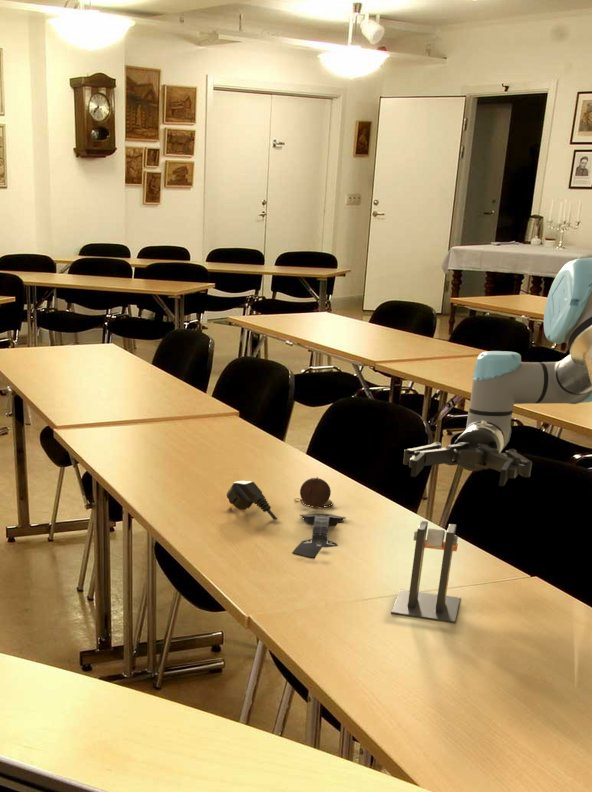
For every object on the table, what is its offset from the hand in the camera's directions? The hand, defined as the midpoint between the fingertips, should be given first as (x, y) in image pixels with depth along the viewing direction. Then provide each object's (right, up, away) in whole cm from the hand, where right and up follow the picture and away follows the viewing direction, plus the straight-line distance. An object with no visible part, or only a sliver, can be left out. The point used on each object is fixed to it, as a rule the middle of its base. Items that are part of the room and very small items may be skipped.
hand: (457, 473), depth 149 cm
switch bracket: (-9, -23, -8) cm, 26 cm away
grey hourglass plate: (-15, -9, +25) cm, 31 cm away
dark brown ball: (-12, -2, +44) cm, 45 cm away
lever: (-7, -13, -8) cm, 17 cm away
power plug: (-25, -3, +40) cm, 47 cm away
